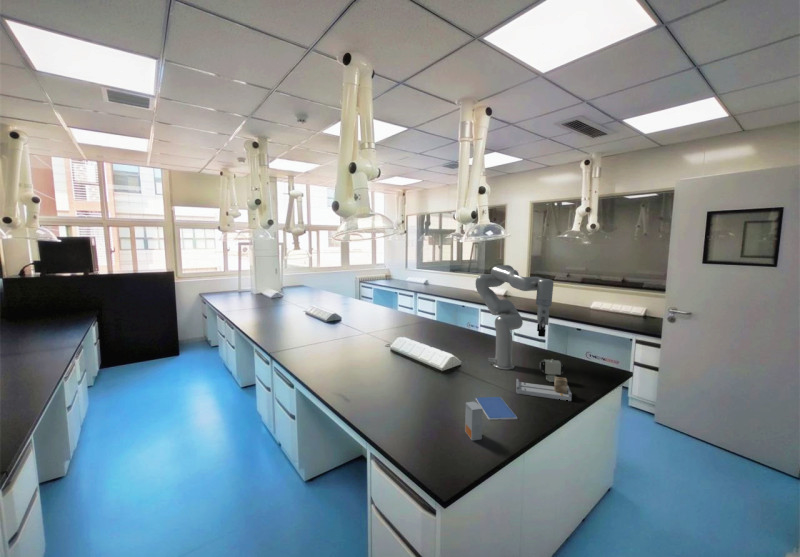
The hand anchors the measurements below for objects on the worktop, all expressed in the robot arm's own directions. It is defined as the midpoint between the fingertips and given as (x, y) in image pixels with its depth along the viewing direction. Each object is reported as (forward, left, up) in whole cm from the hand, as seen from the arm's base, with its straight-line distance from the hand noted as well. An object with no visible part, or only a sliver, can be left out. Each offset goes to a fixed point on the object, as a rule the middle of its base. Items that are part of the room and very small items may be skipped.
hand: (540, 333), depth 167 cm
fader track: (0, -15, -26) cm, 30 cm away
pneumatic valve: (+6, +3, -26) cm, 27 cm away
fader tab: (+8, -15, -24) cm, 29 cm away
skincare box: (-28, -64, -26) cm, 74 cm away
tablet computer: (-21, -39, -27) cm, 52 cm away
